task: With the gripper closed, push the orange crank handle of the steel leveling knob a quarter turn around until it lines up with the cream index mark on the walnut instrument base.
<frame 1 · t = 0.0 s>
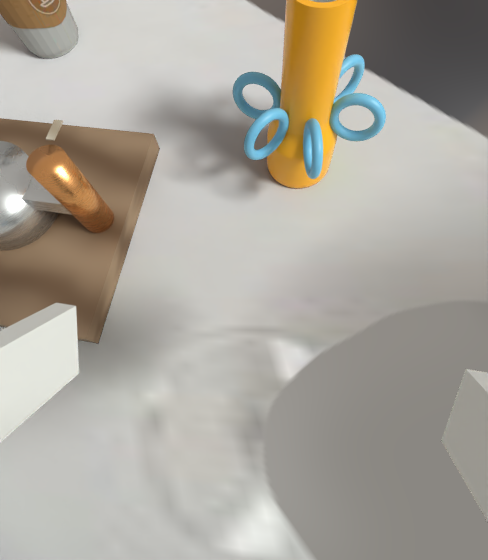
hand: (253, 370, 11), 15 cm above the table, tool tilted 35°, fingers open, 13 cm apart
leveling knob: (12, 186, 26), point 6 cm above the table, hinge at -90.0°
coffee cup: (55, 43, 41), on the table
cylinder: (297, 164, 33), on the table
instrument base: (32, 222, 32), on the table
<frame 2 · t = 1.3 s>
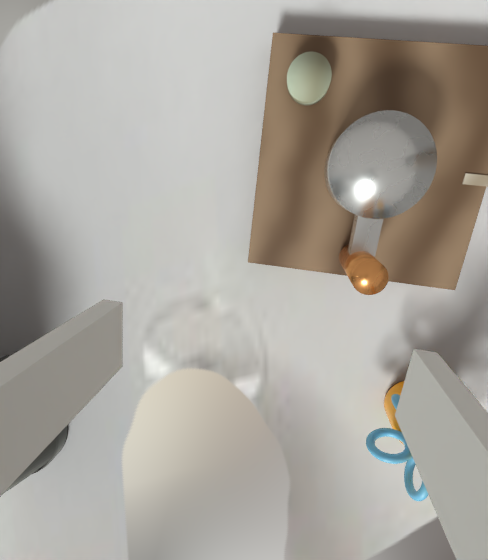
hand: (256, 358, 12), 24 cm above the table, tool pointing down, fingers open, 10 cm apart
leveling knob: (373, 201, 27), point 6 cm above the table, hinge at -90.0°
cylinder: (410, 400, 38), on the table
instrument base: (365, 170, 32), on the table
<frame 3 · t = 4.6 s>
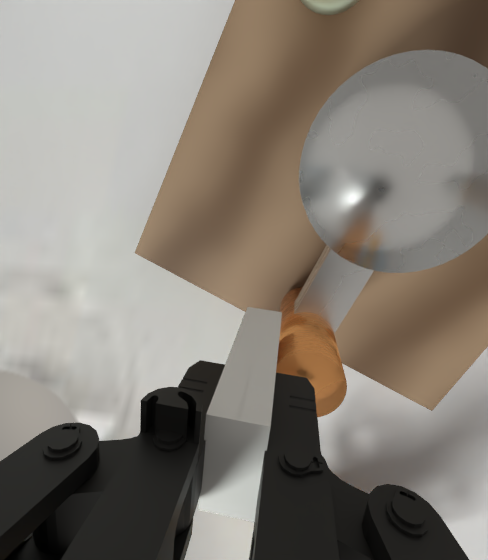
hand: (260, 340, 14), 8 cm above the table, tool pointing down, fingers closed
leveling knob: (367, 233, 14), point 6 cm above the table, hinge at -88.4°, touching gripper
instrument base: (370, 174, 19), on the table
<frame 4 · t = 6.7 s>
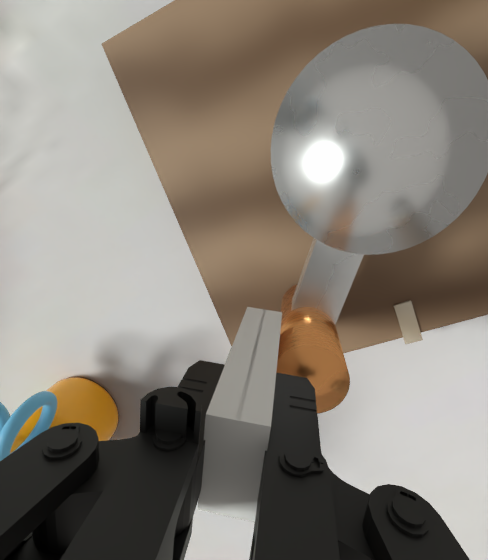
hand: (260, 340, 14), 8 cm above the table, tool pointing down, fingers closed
leveling knob: (350, 217, 13), point 6 cm above the table, hinge at -37.7°, touching gripper
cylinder: (86, 407, 26), on the table
instrument base: (351, 160, 18), on the table
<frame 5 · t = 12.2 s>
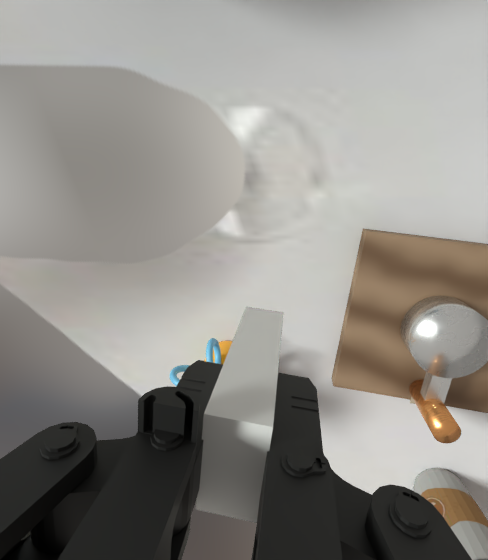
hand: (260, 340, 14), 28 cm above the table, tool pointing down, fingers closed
leveling knob: (445, 365, 36), point 6 cm above the table, hinge at 0.3°
coffee cup: (435, 483, 47), on the table
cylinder: (229, 358, 47), on the table
instrument base: (429, 320, 41), on the table
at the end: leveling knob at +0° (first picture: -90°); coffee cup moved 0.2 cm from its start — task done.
